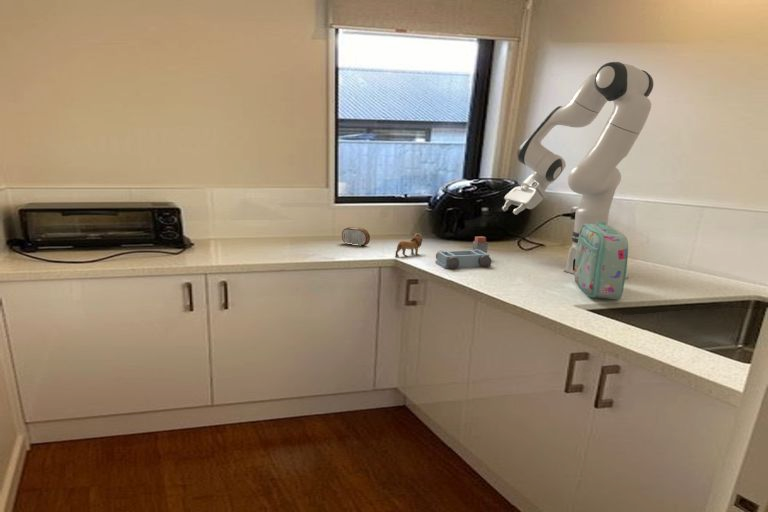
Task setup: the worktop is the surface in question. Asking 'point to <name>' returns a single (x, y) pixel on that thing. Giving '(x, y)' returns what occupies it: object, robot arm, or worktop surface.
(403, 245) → the lion figurine
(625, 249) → the lunch box
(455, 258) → the chassis
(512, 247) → the worktop surface
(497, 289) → the worktop surface
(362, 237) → the wooden speaker
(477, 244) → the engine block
